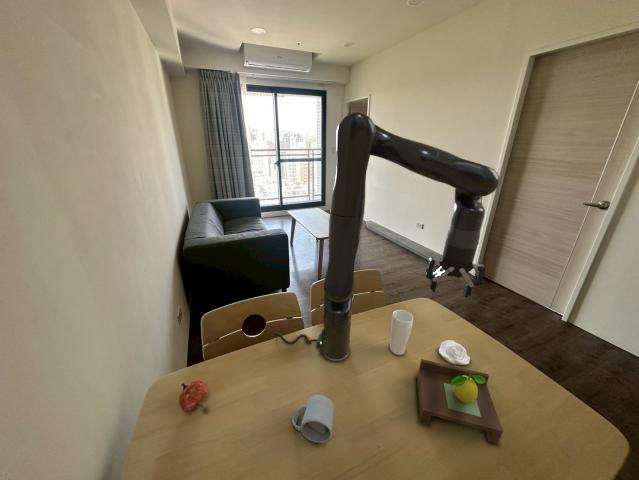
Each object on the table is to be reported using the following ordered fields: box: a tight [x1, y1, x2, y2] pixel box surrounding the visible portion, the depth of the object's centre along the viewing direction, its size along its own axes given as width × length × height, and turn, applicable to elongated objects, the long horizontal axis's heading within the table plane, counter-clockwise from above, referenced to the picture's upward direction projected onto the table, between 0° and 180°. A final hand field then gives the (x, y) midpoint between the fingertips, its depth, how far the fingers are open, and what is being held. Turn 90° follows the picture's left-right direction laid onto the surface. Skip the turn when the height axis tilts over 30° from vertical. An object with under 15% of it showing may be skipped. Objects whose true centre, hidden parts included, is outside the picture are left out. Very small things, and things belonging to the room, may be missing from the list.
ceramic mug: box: [291, 393, 335, 444], centre depth 64 cm, size 11×8×8 cm
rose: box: [438, 339, 471, 366], centre depth 87 cm, size 10×4×10 cm
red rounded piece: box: [178, 380, 210, 412], centre depth 69 cm, size 7×7×10 cm
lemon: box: [450, 372, 486, 403], centre depth 66 cm, size 7×6×10 cm
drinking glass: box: [389, 309, 414, 356], centre depth 87 cm, size 7×7×15 cm
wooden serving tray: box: [416, 358, 504, 445], centre depth 69 cm, size 18×14×8 cm
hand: (448, 293), depth 73 cm, fingers open, 8 cm apart
